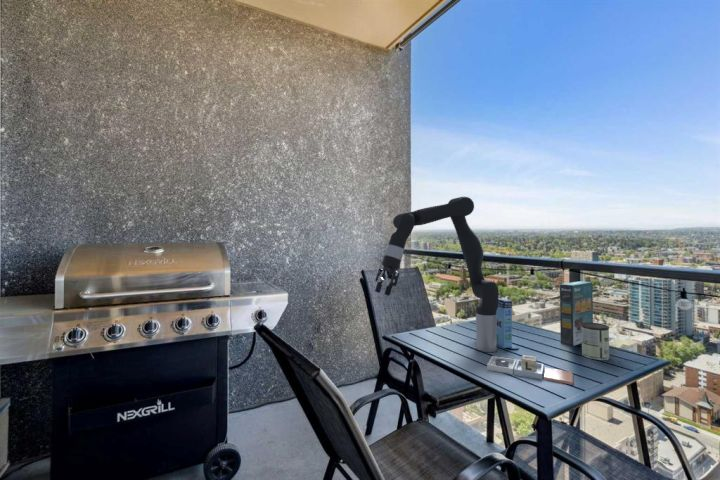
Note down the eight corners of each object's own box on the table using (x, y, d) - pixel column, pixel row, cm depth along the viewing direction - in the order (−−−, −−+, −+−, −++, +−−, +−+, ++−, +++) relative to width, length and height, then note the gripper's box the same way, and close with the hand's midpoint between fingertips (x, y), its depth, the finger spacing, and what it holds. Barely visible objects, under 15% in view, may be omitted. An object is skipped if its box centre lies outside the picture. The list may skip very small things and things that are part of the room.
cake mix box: (580, 336, 183) (579, 281, 183) (593, 338, 177) (592, 282, 178) (560, 343, 170) (559, 284, 171) (573, 345, 165) (572, 285, 166)
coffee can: (583, 351, 158) (583, 321, 158) (611, 356, 151) (610, 324, 151) (579, 356, 150) (579, 325, 150) (607, 362, 143) (607, 329, 143)
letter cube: (522, 367, 136) (522, 354, 136) (536, 369, 134) (536, 356, 134) (521, 371, 132) (521, 358, 132) (535, 373, 129) (535, 360, 129)
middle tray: (517, 365, 140) (517, 359, 140) (543, 369, 135) (543, 363, 135) (514, 374, 130) (514, 369, 130) (542, 379, 125) (542, 373, 125)
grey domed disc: (496, 362, 141) (496, 358, 141) (509, 365, 139) (509, 360, 139) (494, 366, 137) (494, 361, 137) (507, 369, 135) (507, 364, 135)
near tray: (492, 360, 146) (492, 355, 146) (516, 364, 141) (516, 359, 141) (487, 369, 135) (487, 364, 135) (513, 374, 130) (512, 368, 130)
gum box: (481, 337, 182) (480, 295, 182) (489, 336, 183) (489, 294, 183) (503, 348, 163) (503, 301, 163) (513, 347, 164) (512, 300, 164)
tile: (545, 370, 135) (545, 367, 135) (572, 374, 130) (572, 371, 130) (544, 379, 125) (544, 377, 125) (573, 384, 121) (573, 382, 121)
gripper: (409, 260, 138) (397, 298, 136) (391, 259, 151) (381, 293, 149) (394, 255, 135) (382, 293, 133) (378, 253, 148) (367, 289, 146)
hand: (381, 293), depth 141 cm, fingers open, 8 cm apart
